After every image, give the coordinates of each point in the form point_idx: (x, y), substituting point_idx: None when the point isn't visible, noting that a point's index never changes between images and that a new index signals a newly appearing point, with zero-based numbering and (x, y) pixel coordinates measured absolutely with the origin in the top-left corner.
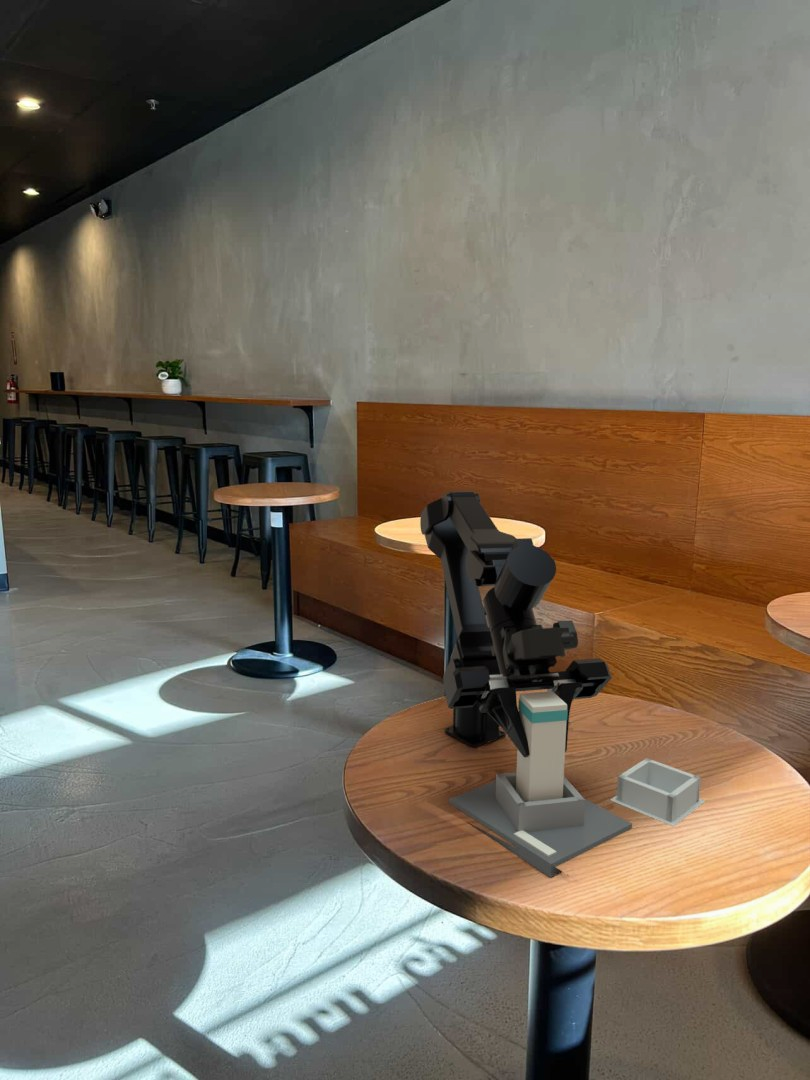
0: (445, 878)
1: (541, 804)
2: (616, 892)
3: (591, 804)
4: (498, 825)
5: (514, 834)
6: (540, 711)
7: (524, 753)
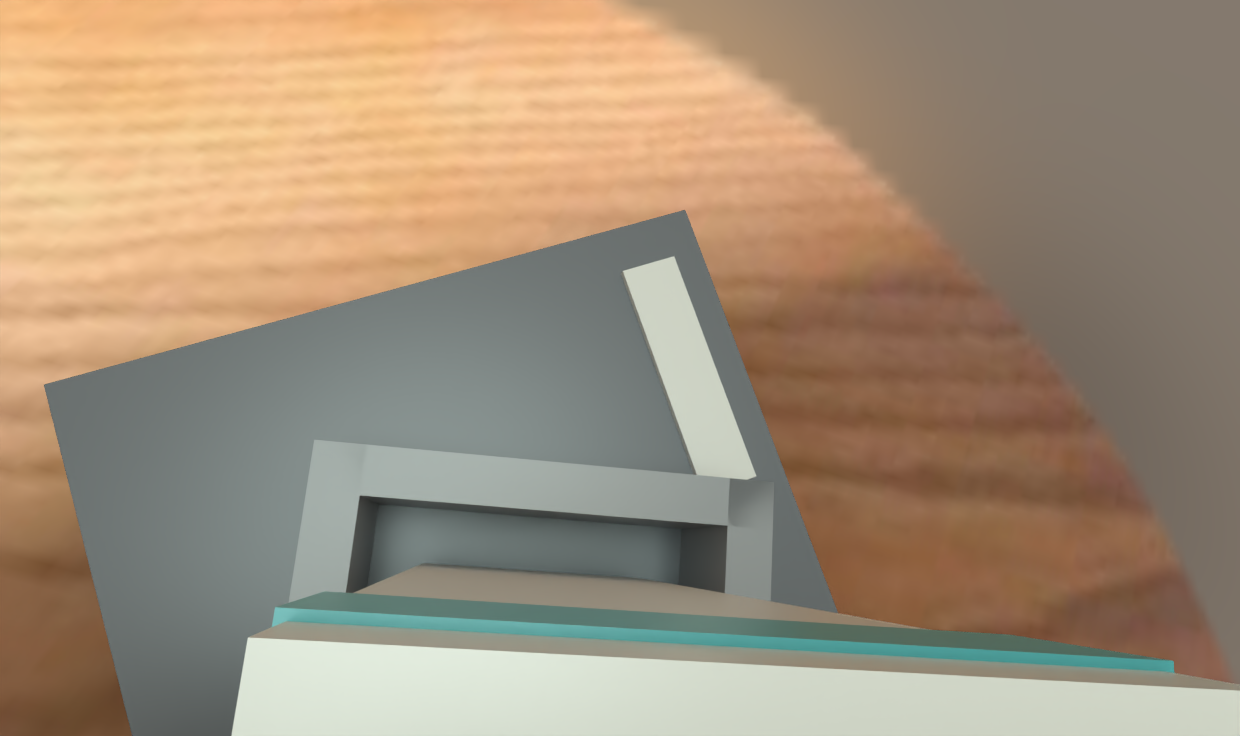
0: (1058, 368)
1: (631, 469)
2: (455, 67)
3: (140, 666)
4: (795, 585)
5: (753, 473)
6: (1005, 658)
7: None
